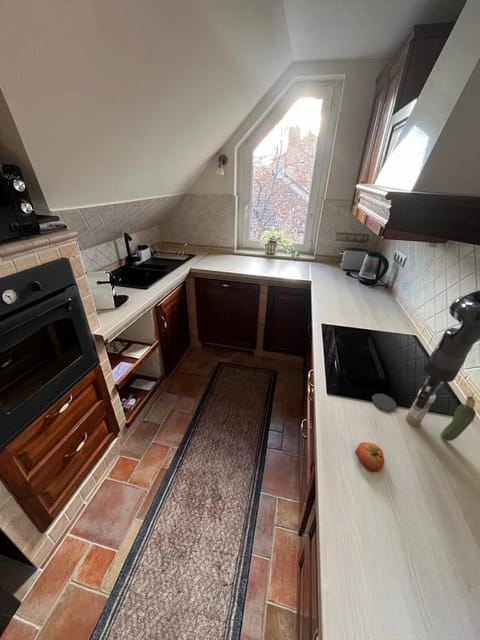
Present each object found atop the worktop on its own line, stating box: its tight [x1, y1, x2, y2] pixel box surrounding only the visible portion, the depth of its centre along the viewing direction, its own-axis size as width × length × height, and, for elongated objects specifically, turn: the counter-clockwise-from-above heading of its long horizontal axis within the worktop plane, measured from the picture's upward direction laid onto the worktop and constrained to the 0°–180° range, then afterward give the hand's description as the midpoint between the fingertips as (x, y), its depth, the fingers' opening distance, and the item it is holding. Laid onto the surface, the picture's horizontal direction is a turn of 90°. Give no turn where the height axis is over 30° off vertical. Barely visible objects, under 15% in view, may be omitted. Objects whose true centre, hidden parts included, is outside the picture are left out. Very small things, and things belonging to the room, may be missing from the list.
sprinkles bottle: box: [405, 388, 437, 427], centre depth 85 cm, size 5×5×13 cm
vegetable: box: [439, 395, 477, 442], centre depth 76 cm, size 4×4×20 cm
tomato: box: [354, 442, 386, 473], centre depth 75 cm, size 8×7×7 cm
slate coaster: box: [371, 393, 397, 413], centre depth 94 cm, size 8×8×1 cm
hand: (423, 401), depth 83 cm, fingers open, 7 cm apart
